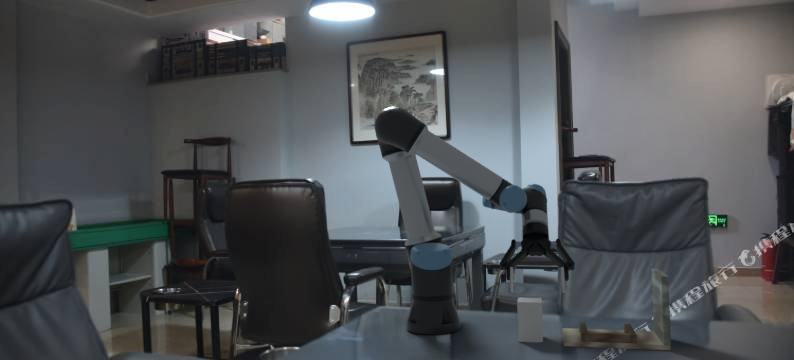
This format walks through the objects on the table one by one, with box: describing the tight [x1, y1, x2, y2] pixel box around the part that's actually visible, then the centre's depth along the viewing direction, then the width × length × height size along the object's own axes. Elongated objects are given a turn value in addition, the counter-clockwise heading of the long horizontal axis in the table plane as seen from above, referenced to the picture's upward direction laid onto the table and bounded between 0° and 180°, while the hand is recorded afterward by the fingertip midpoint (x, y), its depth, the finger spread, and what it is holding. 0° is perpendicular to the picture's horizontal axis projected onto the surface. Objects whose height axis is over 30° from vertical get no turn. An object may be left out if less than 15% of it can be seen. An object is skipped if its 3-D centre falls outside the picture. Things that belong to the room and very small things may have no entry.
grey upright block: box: [516, 297, 544, 343], centre depth 147 cm, size 6×6×10 cm
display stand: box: [561, 268, 672, 351], centre depth 143 cm, size 24×13×17 cm, turn 75°
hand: (537, 289), depth 154 cm, fingers open, 13 cm apart
